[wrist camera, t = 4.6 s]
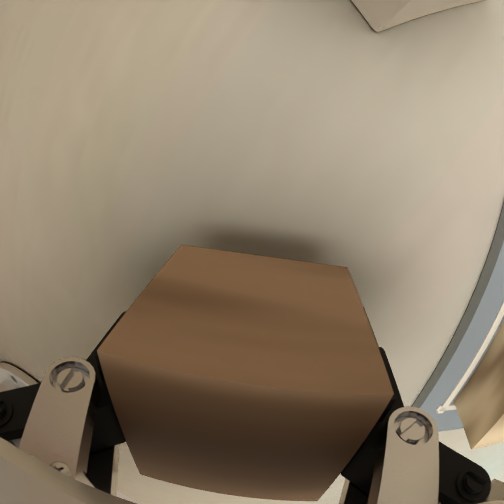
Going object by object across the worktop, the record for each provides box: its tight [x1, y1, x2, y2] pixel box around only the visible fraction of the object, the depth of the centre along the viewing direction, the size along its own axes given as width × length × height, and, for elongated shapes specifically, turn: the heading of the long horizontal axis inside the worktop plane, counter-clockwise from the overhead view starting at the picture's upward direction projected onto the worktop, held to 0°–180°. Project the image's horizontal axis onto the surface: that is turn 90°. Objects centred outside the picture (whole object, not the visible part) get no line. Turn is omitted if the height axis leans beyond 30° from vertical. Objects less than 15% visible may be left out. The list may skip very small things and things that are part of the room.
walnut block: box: [97, 245, 394, 501], centre depth 8 cm, size 5×5×5 cm
